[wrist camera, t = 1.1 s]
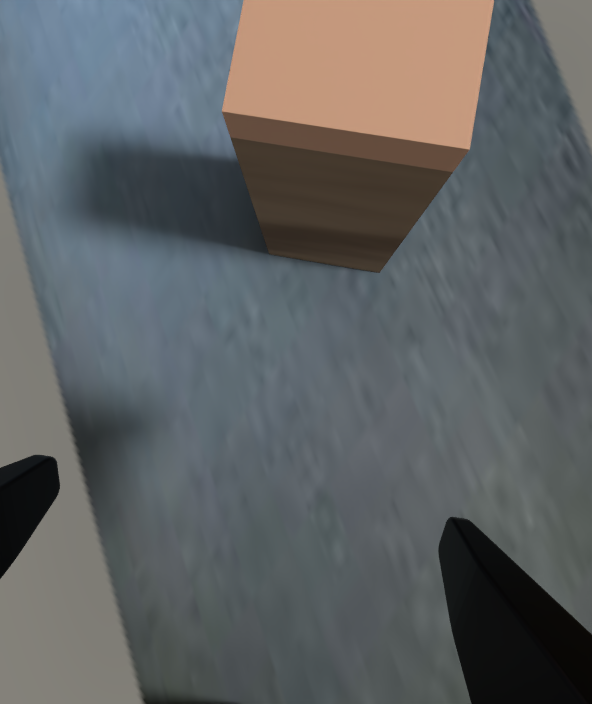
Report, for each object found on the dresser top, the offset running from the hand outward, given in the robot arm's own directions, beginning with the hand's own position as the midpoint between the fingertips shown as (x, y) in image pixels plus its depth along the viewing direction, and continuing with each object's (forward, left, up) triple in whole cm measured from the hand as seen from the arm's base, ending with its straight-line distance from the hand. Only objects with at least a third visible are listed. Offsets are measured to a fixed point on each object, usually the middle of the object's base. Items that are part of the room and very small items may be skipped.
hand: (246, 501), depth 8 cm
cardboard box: (+11, -3, -11) cm, 16 cm away
